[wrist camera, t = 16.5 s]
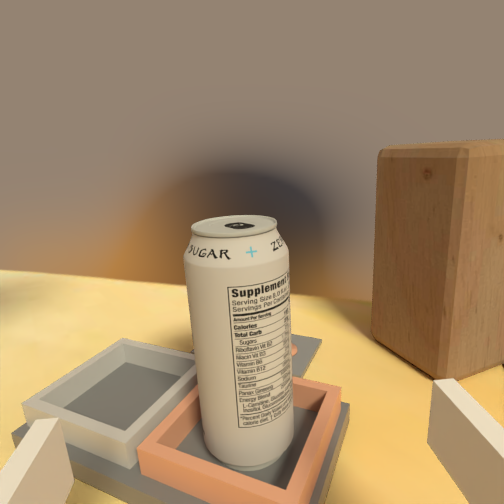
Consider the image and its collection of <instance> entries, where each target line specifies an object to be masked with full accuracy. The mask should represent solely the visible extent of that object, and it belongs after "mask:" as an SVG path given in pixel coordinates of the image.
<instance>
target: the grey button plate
mask: <svg viewBox="0 0 504 504" xmlns="http://www.w3.org/2000/svg"><path fill="white" fill-rule="evenodd" d="M321 343H322V339H317V338H312V337H306V336H300V335H294V334H291V347H292V376H294V377H298V378H303V376H304V374H305V372H306V370H307V368H308V367H309V365H310V363H311V361H312V359H313V357H314V356H315V354H316V352H317V350H318V348H319V346H320V345H321ZM191 354H194V349H193V350H192V351H191Z"/></svg>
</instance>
